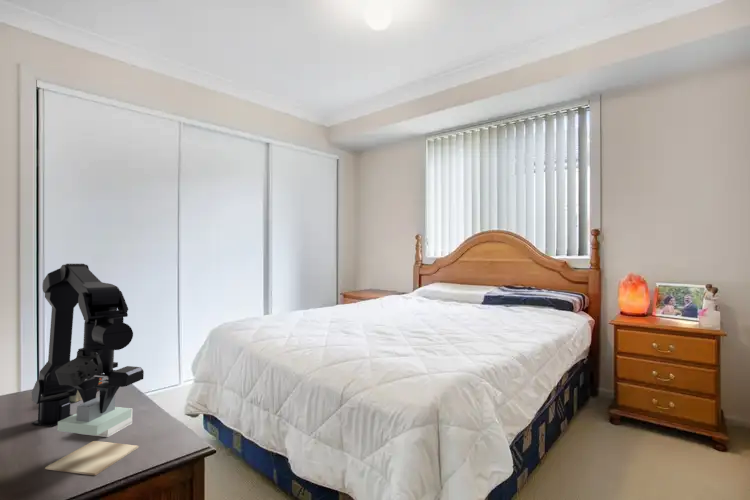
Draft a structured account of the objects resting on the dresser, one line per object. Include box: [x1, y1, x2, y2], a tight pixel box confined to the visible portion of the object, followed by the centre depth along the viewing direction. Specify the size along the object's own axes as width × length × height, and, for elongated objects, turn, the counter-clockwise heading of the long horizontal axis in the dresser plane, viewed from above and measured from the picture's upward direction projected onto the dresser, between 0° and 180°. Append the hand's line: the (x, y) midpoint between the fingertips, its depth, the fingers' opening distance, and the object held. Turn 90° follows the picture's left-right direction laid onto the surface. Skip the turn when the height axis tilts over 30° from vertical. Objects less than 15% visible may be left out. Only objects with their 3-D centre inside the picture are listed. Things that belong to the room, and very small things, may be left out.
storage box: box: [83, 407, 133, 438], centre depth 102 cm, size 8×8×4 cm
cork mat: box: [44, 440, 140, 476], centre depth 87 cm, size 12×12×1 cm
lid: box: [57, 395, 132, 436], centre depth 88 cm, size 10×10×5 cm
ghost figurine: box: [70, 390, 83, 404], centre depth 120 cm, size 6×5×8 cm
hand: (96, 411), depth 88 cm, fingers closed on lid, 3 cm apart
